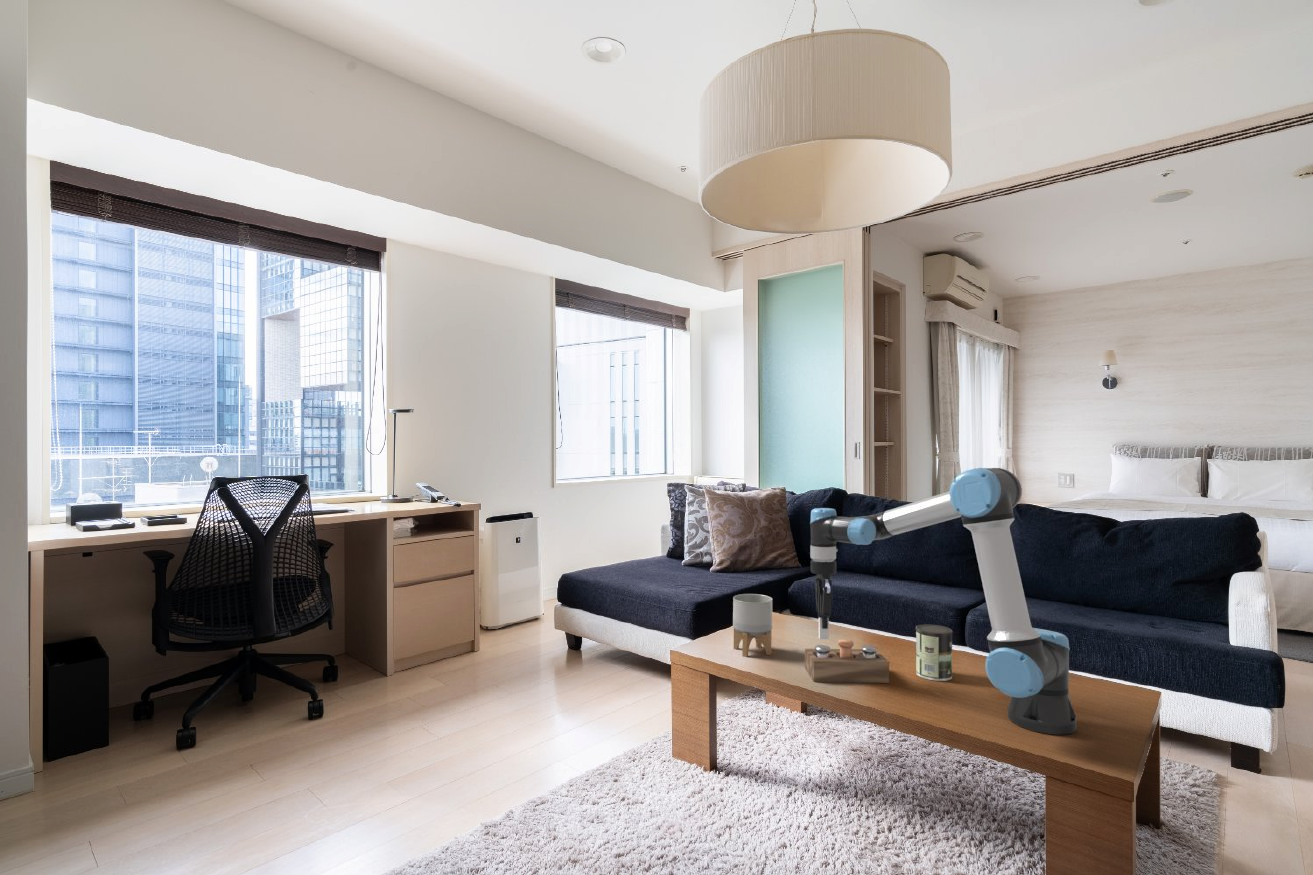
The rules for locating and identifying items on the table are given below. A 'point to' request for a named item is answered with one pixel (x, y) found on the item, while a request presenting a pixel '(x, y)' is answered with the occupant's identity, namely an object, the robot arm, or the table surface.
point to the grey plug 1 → (822, 650)
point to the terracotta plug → (845, 648)
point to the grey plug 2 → (868, 651)
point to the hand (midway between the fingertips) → (823, 638)
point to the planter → (752, 621)
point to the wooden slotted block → (846, 667)
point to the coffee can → (934, 652)
